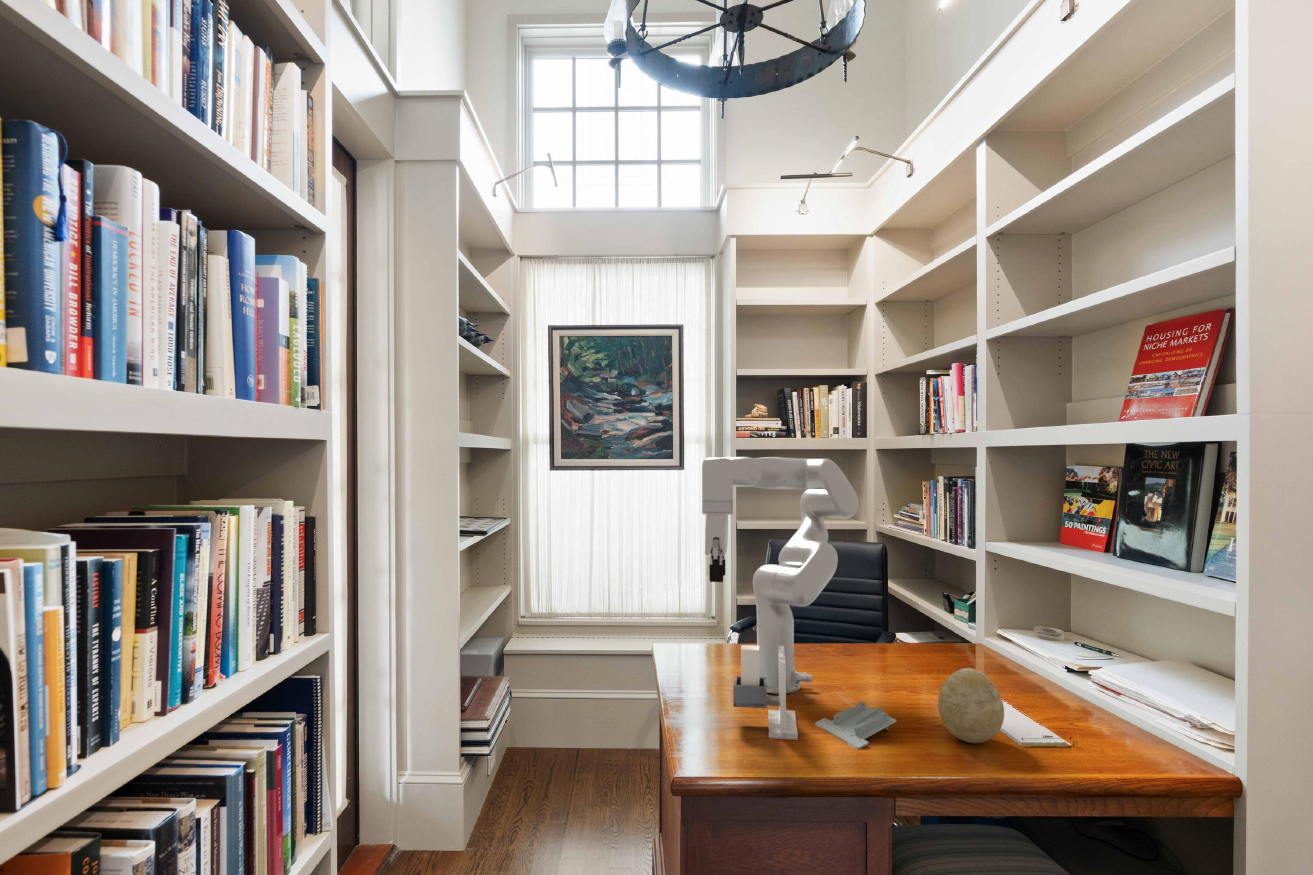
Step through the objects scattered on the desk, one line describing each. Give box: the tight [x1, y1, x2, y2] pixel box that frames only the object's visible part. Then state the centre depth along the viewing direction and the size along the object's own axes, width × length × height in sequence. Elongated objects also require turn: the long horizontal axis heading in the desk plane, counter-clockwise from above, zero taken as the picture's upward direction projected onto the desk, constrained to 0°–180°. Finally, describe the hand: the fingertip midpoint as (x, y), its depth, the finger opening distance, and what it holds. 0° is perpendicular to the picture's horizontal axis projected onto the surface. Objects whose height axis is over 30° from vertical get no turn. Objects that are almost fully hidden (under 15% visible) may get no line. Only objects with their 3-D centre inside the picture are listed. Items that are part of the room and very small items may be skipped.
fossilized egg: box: [937, 667, 1004, 744], centre depth 147 cm, size 13×13×15 cm
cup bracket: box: [732, 645, 799, 740], centre depth 155 cm, size 14×14×16 cm
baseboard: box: [999, 699, 1078, 748], centre depth 159 cm, size 31×3×12 cm
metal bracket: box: [814, 701, 897, 750], centre depth 151 cm, size 14×6×15 cm
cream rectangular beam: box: [740, 644, 759, 686], centre depth 156 cm, size 4×4×11 cm
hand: (717, 578), depth 170 cm, fingers open, 9 cm apart
